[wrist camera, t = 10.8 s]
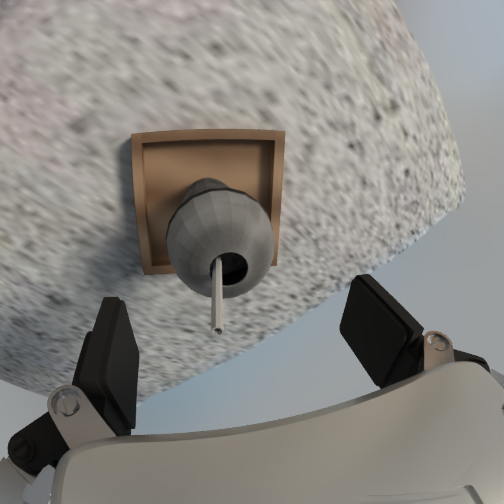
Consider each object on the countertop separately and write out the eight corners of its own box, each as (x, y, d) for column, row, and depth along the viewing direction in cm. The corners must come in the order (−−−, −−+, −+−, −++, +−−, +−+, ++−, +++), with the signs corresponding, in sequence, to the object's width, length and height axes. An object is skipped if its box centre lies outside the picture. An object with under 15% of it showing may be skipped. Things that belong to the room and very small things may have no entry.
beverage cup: (246, 222, 31) (328, 355, 13) (182, 237, 30) (187, 393, 12) (235, 157, 27) (328, 220, 10) (165, 173, 26) (125, 268, 9)
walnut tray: (136, 133, 25) (131, 134, 22) (277, 130, 28) (285, 131, 26) (146, 264, 31) (144, 275, 29) (270, 256, 34) (276, 265, 32)
